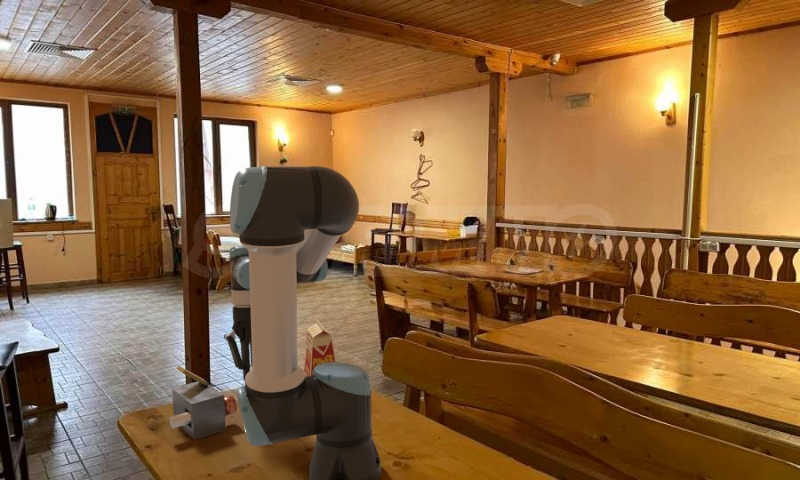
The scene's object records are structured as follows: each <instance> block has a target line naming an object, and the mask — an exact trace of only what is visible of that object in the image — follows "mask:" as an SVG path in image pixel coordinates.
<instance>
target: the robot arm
mask: <svg viewBox="0 0 800 480" xmlns="http://www.w3.org/2000/svg"><path fill="white" fill-rule="evenodd" d="M359 202H360V201H359V197H358V194H357V192H356V190H355V188H354V186H353V185H352V183H351V182H350V181H349V180H348V178H346V177H345V176H344V175H343V174H341V172H338V171H337V170H335V169H332V168H329V167H326V166H320V165H316V166H315V165H313V166H266V165H261V166H256V167H255V166H253V167H244V168H241V169H240V170H239V171H238V172H236V174H235V176H234V178H233V182H232V187H231V194H230V202H229V203H230V205H229V215H230V216H229V225H230V226H229V227H230V231H231V233H233V234H235V235H239V243H240V245H234V246H231V247H230V249H229V257H228V261H229V270H230V271H229V272H230V282H231V283H230V284H231V285H230V286H231V287H230V289H231V290H230V291H231V292H230V293H231V304H232V305H233V306H232V321H233V325H232V328H231V330H230V331H229V333H225V334H224V335H223V339H224V340H225V341H226V342H227V343H228V348H229V349H230V354H231V357H232V360H233V364H234V366H235V368H237V369H239V370H241V371H242V377H243V381H244V385H241V386H239V387H237V389H236V392H237V393H236V394H237V401H238V405H239V406H238V407H239V410H240V411H239V412H240V416H241V420H242V424H243V429H244V433H245V436H246V440H247V442H248V443H249V444H250V446H253V447H260V446H266V445H270V446H272V445H274V444H277V443H283V442H287V441H292V440H297V439H301V438H306V437H312V436H315V437H316V440H315V444H314V448H313V452H312V456H311V460H310V462H309V464H308V475H309V478H308V479H309V480H379V479H380V478H381V475H382V462H381V461H382V460H381V457H380V455H379V452H378V449H377V447H376V445H375V444H376V443H375V441H374V438H373V425H372V424H373V423H372V421H373V419H372V394H373V393H372V392H373V391H372V387H371V379H370V378H371V377H370V375H369V373H368V371H367V370H366V369H365V368H362V367H361V366H359V365H356V364H351V363H348V362H339V361H336V362H329V363H322V364H320V365H317V366H316V367H315V368H314V371H313V375H312V376H306V375H305V371H304V368H302V367H301V366H300V365H299V364H298V363H299V360H298V359H299V356H298V348H299V347H298V297H297V296H298V294H297V293H298V291H297V287H298V286H297V284H298V285H299V284H308V283H309V284H313V283H315V282H322V281H324V280H325V279H326V278H327V276H328V274H327V273H328V270H329V269H328V261H327V258H328V256H329V255H330V253H331V252H332V250H333V248H334V247H335V245H336V244H337V242H338V240H339V239H340V238H341V236H343V235H344V234H347V233H348V232H349V231H350V230H351V229H352V228H353V226H354V224H355V223H356V221H357V219H358V217H359V212H360V203H359ZM236 336H237V337H236ZM237 338H238V339H239V344H240V350H239V347H238V343H237V341H236V339H237ZM250 364H251V365H252V367H250Z"/></svg>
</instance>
